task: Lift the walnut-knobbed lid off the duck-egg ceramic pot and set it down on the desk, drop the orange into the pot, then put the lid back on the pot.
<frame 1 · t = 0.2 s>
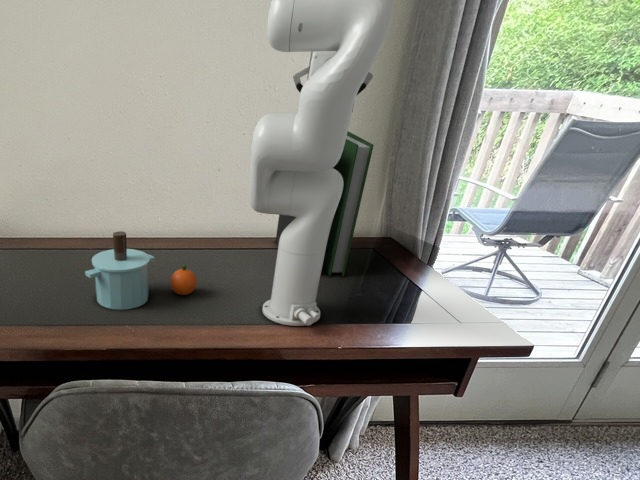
hand: (325, 115, 113), 37 cm above the table, tool pointing down, fingers open, 9 cm apart
pot lid: (120, 261, 111), point 9 cm above the table, touching pot
green and black books: (306, 258, 137), on the table
pot: (122, 297, 116), on the table
orange: (183, 293, 118), on the table
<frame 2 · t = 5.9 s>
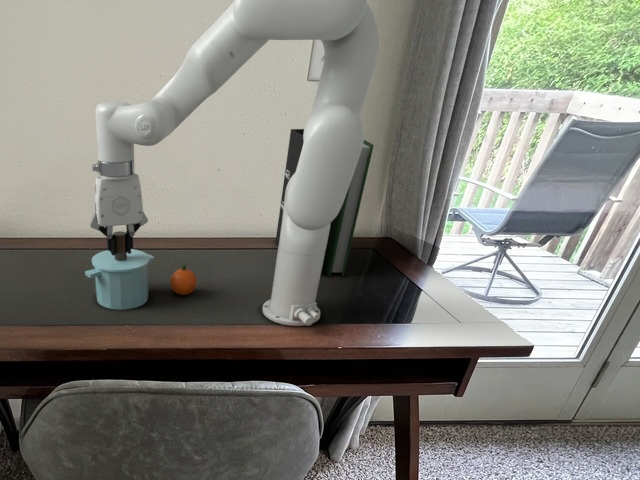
hand: (120, 251, 110), 12 cm above the table, tool pointing down, fingers closed on pot lid, 3 cm apart
pot lid: (120, 261, 111), point 10 cm above the table, touching gripper, pot
everything else where it was.
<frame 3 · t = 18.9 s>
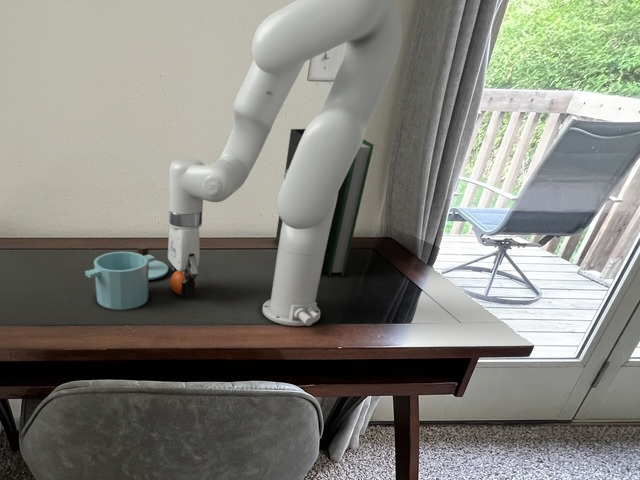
hand: (183, 290, 117), 1 cm above the table, tool pointing down, fingers closed on orange, 6 cm apart
pot lid: (143, 270, 129), point 1 cm above the table
orange: (183, 293, 118), on the table, touching gripper
everything else where it was.
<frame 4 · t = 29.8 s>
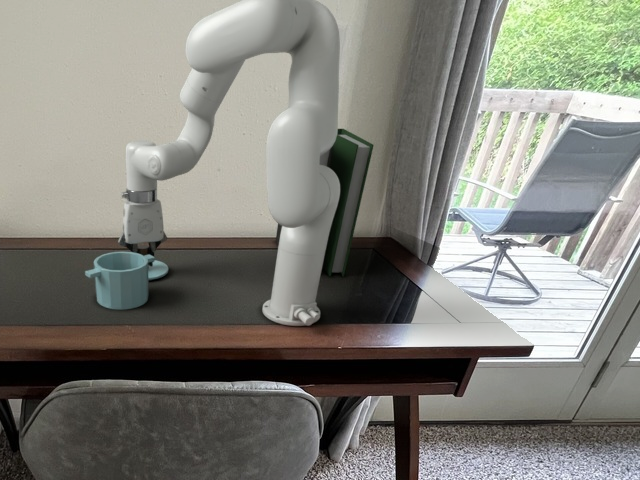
hand: (143, 264, 128), 2 cm above the table, tool pointing down, fingers closed on pot lid, 3 cm apart
pot lid: (143, 270, 129), point 1 cm above the table, touching gripper
orange: (121, 293, 115), point 1 cm above the table, tilted 42°, touching pot
everything else where it was.
when the fingers open (11 cm above the table, at t = 36.3 s): pot lid stays where it is, resting on pot.
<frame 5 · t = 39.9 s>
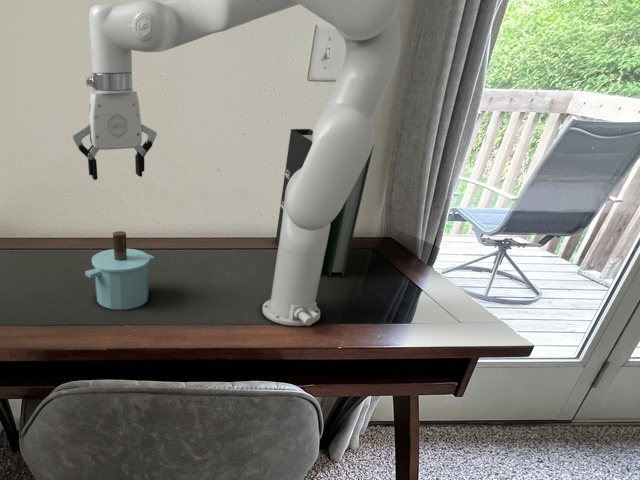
hand: (117, 177, 101), 28 cm above the table, tool pointing down, fingers open, 9 cm apart
pot lid: (120, 260, 111), point 9 cm above the table, touching pot
everything else where it was.
at the end: orange inside the target area in the pot (0.1 cm from its centre), point 1.3 cm above the pot's base; pot lid 0.1 cm off-centre on the pot, point 9.5 cm above the pot's base; pot lid tilted 0° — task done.
